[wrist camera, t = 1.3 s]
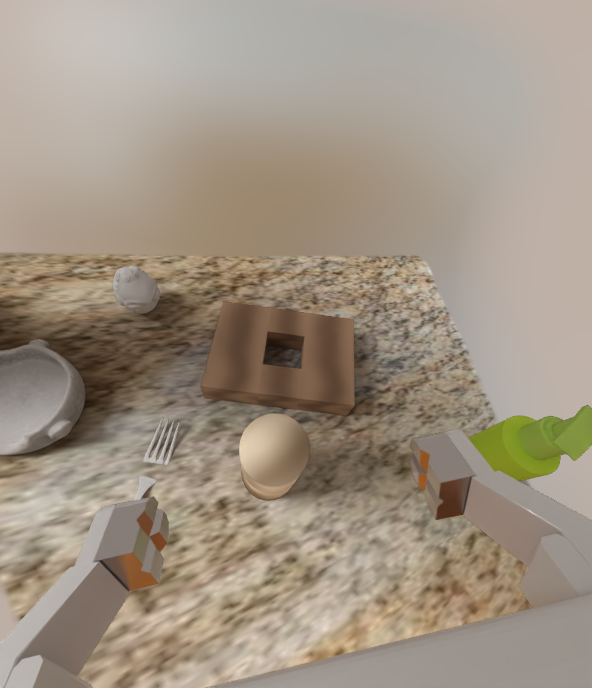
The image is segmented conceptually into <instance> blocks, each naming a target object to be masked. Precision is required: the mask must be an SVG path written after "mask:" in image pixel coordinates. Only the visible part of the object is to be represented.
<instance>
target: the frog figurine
mask: <svg viewBox="0 0 592 688" xmlns="http://www.w3.org/2000/svg"><path fill="white" fill-rule="evenodd" d="M113 289H114V291H115V297H116V299H117V301H118V302H119V303H120V304H121V305H123V306H124V305H125V306H126V307H127V308H128V309H129V310H131V311H132V312H135V313H140V314H143V313H148V312H150V311H152V310H153V309H154V308H155V307H156V305H157V303H158V301H159V299H160V298H159V294H160V291H159V288H158V287H157V283H156V281H155V280H154V279H153V278H151V277H149V276H148V273H146V272H144V271H141V270H140V268H138V267H136V266H131V267H123V268H120V269H119V270H117V272H116V273H115V276H114V280H113Z"/></svg>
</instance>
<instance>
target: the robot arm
mask: <svg viewBox="0 0 592 688" xmlns="http://www.w3.org/2000/svg"><path fill="white" fill-rule="evenodd" d="M410 447H411V449H412V451H413V453H412V454H411V456H410V467H411V471H412V474H413V477H414V479H415V481H416V483H417V485H418V487H420V488H421V489H423V490H424V491H426V492H425V501H426V503H427V504H428V506H429V508H430V510H431V512H432V514H433V516H434V518H435V520H439V519H444V518H449V517H454V516H459V515H464V517H465V518H466V519H468V520H469V521H470V522H472V523H473V524H474V525H475V526H477V527H478V528H479V529H480V530H482V531H483V532H484V533H486V534H487V535H488V536H489V537H491V538H492V539H493V540H494V541H496V542H497V543H498V544H500V545H501V546H502V547H503V548H505V549H506V550H507V551H508V552H510V553H511V554H512V555H514V556H515V557H516V558H517V559H519V560H520V561H521V562H522V563H524V564H525V565H526V566H527V569H526V571H525V574H524V576H523V578H522V580H521V583H520V589H521V590H522V592H523V594H524V595H525V597H526V598H527V600H528V602H529V603H530V605H531V606H532V608H531V609H527V610H523V611H519V612H515V613H511V614H507V615H503V616H498V617H494V618H490V619H486V620H482V621H478V622H474V623H470V624H466V625H461V626H457V627H453V628H449V629H445V630H441V631H437V632H433V633H429V634H425V635H420V636H416V637H412V638H408V639H404V640H400V641H396V642H392V643H388V644H383V645H379V646H375V647H371V648H367V649H363V650H359V651H355V652H351V653H346V654H342V655H338V656H334V657H330V658H326V659H322V660H318V661H314V662H310V663H305V664H301V665H297V666H293V667H289V668H285V669H281V670H277V671H273V672H268V673H264V674H260V675H256V676H252V677H248V678H244V679H240V680H236V681H231V682H227V683H223V684H219V685H215V686H211V687H207V688H592V520H590V519H589V518H586V517H585V516H583V515H581V514H579V513H577V512H576V511H574V510H572V509H570V508H568V507H566V506H564V505H562V504H560V503H559V502H557V501H555V500H553V499H551V498H549V497H547V496H546V495H544V494H542V493H540V492H538V491H536V490H534V489H533V488H531V487H529V486H527V485H525V484H523V483H521V482H519V481H518V480H516V479H514V478H512V477H510V476H508V475H506V474H505V473H503V472H501V471H496V472H494V470H493V469H492V468H491V467H490V465H489V464H488V463H487V461H486V460H485V459H484V458H483V456H482V455H481V454H480V453H479V451H478V450H477V449H476V448H475V446H474V445H473V444H472V443H471V441H470V440H469V439H468V438H467V436H466V435H465V434H464V432H463V431H461V430H460V429H455V430H450V431H446V432H440V433H435V434H431V435H427V436H423V437H418V438H414V439H412V440H411V443H410ZM157 506H158V501H157V500H156V499H155V497H149V498H143V499H138V500H133V501H128V502H123V503H118V504H113V505H108V506H104V507H101V508H100V509H99V510H98V512H97V513H96V515H95V518H94V520H93V522H92V525H91V527H90V530H89V532H88V535H87V537H86V539H85V542H84V544H83V547H82V549H81V551H80V554H79V556H78V559H77V561H76V564H75V566H74V567H71V568H68V570H67V571H66V572H65V573H64V574H63V575H62V576H61V577H60V578H59V579H58V580H57V582H56V583H55V584H54V585H53V586H52V587H51V588H50V589H49V590H48V591H47V592H46V594H45V595H44V596H43V597H42V598H41V599H40V600H39V601H38V602H37V603H36V604H35V606H34V607H33V608H32V609H31V610H30V611H29V612H28V613H27V614H26V615H25V616H24V618H23V619H22V620H21V621H20V622H19V623H18V624H17V625H16V626H15V627H14V628H13V630H12V631H11V632H10V633H9V634H8V635H7V636H6V637H5V638H4V639H3V640H2V642H1V643H0V688H92V685H91V684H89V683H88V682H86V681H84V680H82V679H81V678H79V677H77V676H78V674H79V673H80V671H81V670H82V668H83V667H84V665H85V663H86V662H87V660H88V659H89V657H90V656H91V654H92V652H93V651H94V649H95V648H96V646H97V644H98V643H99V641H100V640H101V638H102V637H103V635H104V633H105V632H106V630H107V629H108V627H109V626H110V624H111V622H112V621H113V619H114V618H115V616H116V614H117V613H118V611H119V610H120V608H121V607H122V605H123V603H124V602H125V600H126V599H127V597H128V596H129V594H130V592H129V591H133V590H137V589H141V588H145V587H148V586H152V585H156V584H159V581H160V576H161V571H162V566H163V561H164V558H163V556H162V554H161V550H162V549H163V548H164V546H165V545H166V544H167V540H168V535H169V522H168V519H167V515H166V514H165V512H164V511H163V510H160V509H158V508H157Z"/></svg>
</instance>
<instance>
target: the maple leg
mask: <svg viewBox="0 0 592 688" xmlns="http://www.w3.org/2000/svg"><path fill="white" fill-rule="evenodd" d="M309 454H310V445H309V440H308V436H307V434H306V432H305V430H304V429H303V427H302V426H301V425H300V424H299V423H298V422H297V421H296V420H294V419H293V418H291V417H289V416H286V415H283V414H267V415H263V416H261V417H259V418H257V419H255V420H254V421H252V422H251V423H250V424H249V425H248V427H247V428H246V429H245V431H244V433H243V435H242V437H241V440H240V445H239V455H240V462H241V469H242V478H243V482H244V485H245V487H246V488H247V490H248V491H249V492H250V493H251V494H252V495H253V496H255V497H256V498H259V499H262V500H267V501H268V500H276V499H279V498H281V497H283V496H284V495H285V494H287V493H288V492H289V491H290V489H291V488H292V486H293V485H294V483H295V481H296V480H297V478H298V477H299V476H300V474H301V473H302V471H303V470H304V468H305V467H306V465H307V462H308V459H309Z"/></svg>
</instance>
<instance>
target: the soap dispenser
mask: <svg viewBox="0 0 592 688" xmlns="http://www.w3.org/2000/svg"><path fill="white" fill-rule="evenodd" d="M468 439H469V440H470V441H471V443H472V444H473V445H474V446H475V448H476V449H477V450H478V451H479V453H480V454H481V455H482V456H483V458H484V459H485V460H486V461H487V463H488V464H489V465H490V467H491V468H492V469H493V470H494V472H496V471H501V472H503V473H505V474H506V475H508V476H510V477H512V478H514V479H516V480H518V481H522V480H526V479H531V478H535V477H539V476H543V475H548V474H551V473H552V472H554V471H555V470H556V469H557V468H558V466H559V463H560V455H563V454H567V455H569V456H570V457H571V458H572V459H573V460H574V461H575V460H577V459H578V458H579V457H580V456H581V455H582V454H583V453H584V452H585V451H586V450H587V449H588V448H589V447H590V446H591V445H592V408H591V407H590V406H588V405H586V406H584V407H582V408H581V409H580V411H579V412H578V413H577V414H576V415H575V416H574V417H572V418H569V419H567V420H564V421H563V420H562V419H560V418H557V417H554V416H548V417H544V418H542V419H540V420H537V421H536V420H534V419H532V418H529V417H526V416H513V417H511V418H508V419H506V420H504V421H502V422H500V423H498V424H496V425H494V426H492V427H490V428H488V429H486V430H484V431H482V432H480V433H478V434H476V435H474V436H472V437H470V438H468Z"/></svg>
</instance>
